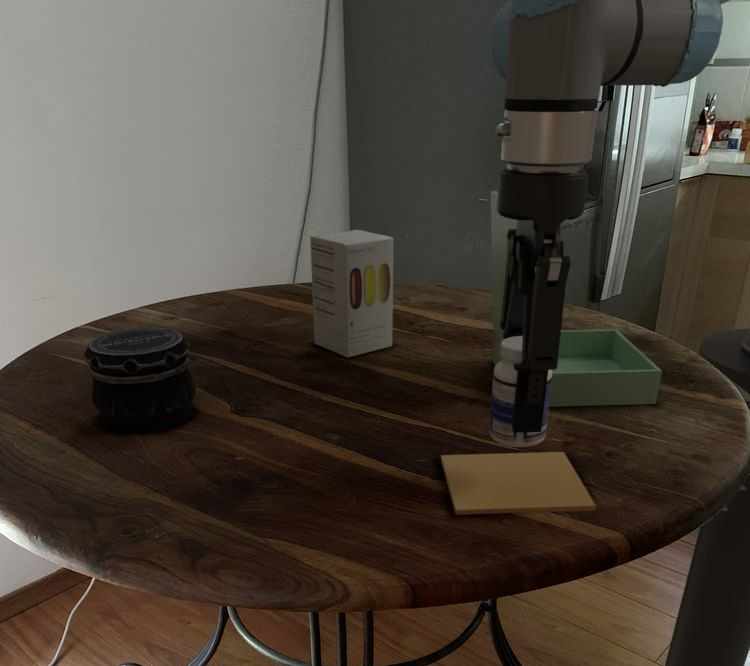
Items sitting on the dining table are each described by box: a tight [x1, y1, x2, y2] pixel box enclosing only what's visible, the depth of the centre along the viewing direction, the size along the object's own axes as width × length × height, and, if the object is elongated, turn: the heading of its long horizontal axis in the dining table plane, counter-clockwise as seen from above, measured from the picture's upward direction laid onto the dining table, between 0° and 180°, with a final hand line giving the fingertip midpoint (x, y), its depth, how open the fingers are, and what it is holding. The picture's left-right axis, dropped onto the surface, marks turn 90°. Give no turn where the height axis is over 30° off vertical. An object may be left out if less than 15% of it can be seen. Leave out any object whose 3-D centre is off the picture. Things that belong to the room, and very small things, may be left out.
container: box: [83, 326, 197, 433], centre depth 92 cm, size 13×13×10 cm
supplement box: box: [309, 229, 394, 358], centre depth 114 cm, size 10×9×17 cm
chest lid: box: [490, 190, 518, 342], centre depth 96 cm, size 19×18×1 cm
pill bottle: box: [489, 336, 552, 448], centre depth 73 cm, size 6×6×10 cm
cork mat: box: [440, 451, 597, 516], centre depth 78 cm, size 14×12×1 cm
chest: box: [492, 328, 663, 408], centre depth 102 cm, size 18×18×5 cm
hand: (519, 416), depth 74 cm, fingers closed on pill bottle, 6 cm apart
